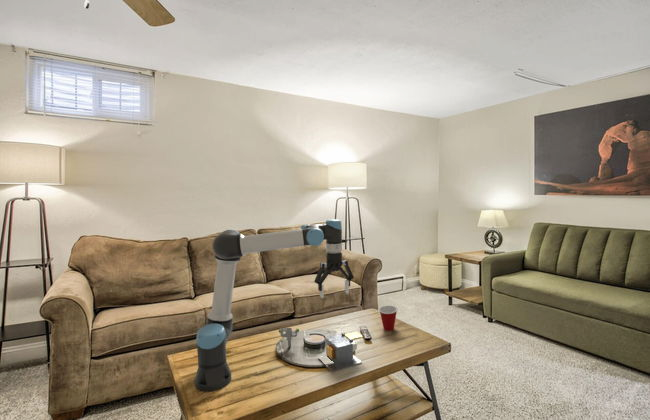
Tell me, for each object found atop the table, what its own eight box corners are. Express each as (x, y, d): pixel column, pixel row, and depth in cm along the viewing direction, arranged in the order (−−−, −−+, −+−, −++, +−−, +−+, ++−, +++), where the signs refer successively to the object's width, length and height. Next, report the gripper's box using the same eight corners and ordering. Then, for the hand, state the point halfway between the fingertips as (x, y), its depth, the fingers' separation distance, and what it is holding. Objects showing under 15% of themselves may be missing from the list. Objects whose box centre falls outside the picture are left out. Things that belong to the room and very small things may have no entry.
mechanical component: (299, 348, 176) (298, 329, 176) (279, 349, 176) (278, 330, 176) (299, 346, 179) (298, 327, 178) (280, 346, 179) (279, 327, 179)
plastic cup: (375, 328, 198) (374, 308, 198) (388, 323, 205) (388, 304, 204) (388, 334, 190) (387, 313, 189) (401, 329, 196) (401, 309, 195)
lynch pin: (331, 359, 158) (331, 349, 157) (327, 355, 162) (326, 345, 162) (358, 352, 164) (357, 342, 164) (352, 348, 168) (352, 338, 168)
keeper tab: (350, 340, 161) (350, 339, 161) (344, 336, 166) (344, 334, 166) (362, 337, 164) (362, 336, 164) (356, 333, 170) (356, 331, 169)
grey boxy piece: (331, 372, 153) (330, 348, 152) (318, 358, 165) (317, 336, 164) (361, 363, 160) (361, 339, 159) (346, 350, 172) (346, 329, 171)
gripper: (313, 255, 155) (314, 301, 156) (360, 250, 166) (360, 293, 167) (307, 252, 162) (307, 296, 163) (352, 248, 172) (353, 289, 174)
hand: (334, 295), depth 165 cm, fingers open, 13 cm apart
